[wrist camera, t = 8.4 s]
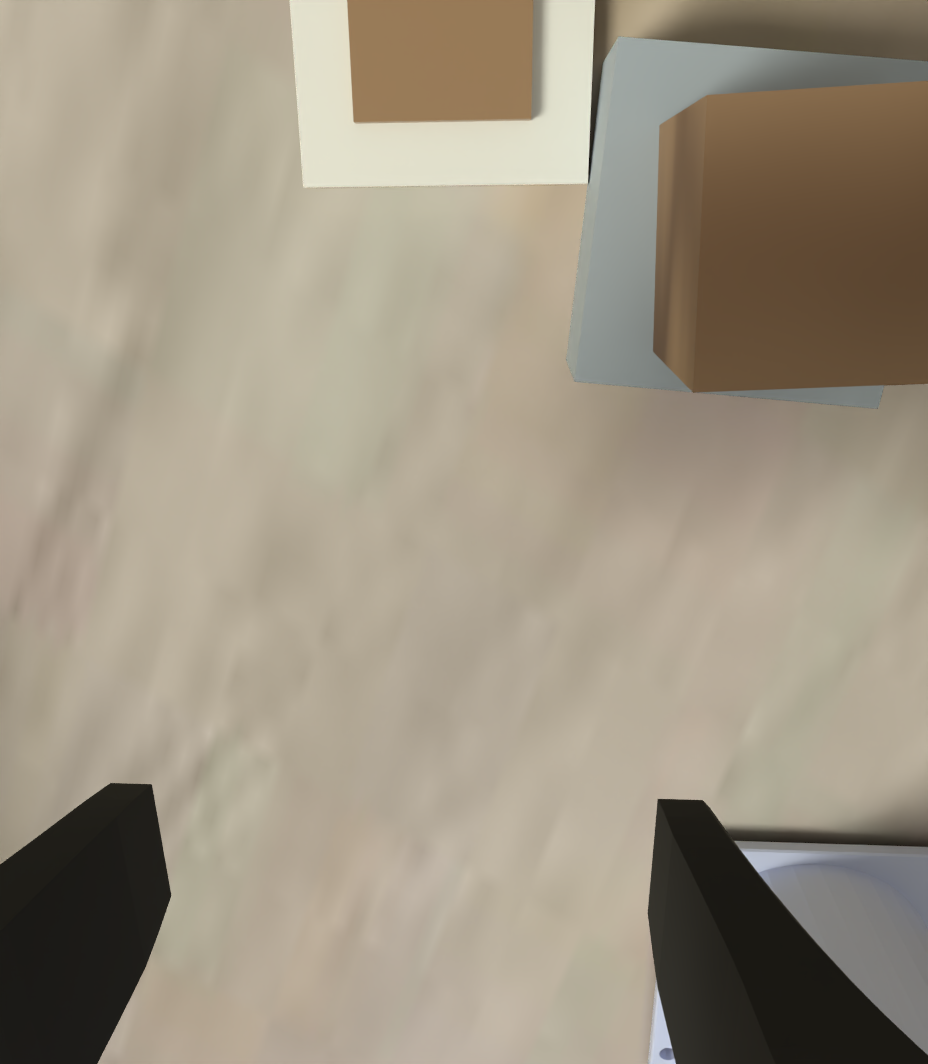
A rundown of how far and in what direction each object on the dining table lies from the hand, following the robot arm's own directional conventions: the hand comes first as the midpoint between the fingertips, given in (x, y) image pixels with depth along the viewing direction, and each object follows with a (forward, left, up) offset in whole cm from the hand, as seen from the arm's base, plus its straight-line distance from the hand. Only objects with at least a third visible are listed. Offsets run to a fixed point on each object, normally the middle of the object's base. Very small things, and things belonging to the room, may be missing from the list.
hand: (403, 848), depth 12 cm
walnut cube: (+8, -6, -7) cm, 12 cm away
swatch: (+12, 0, -10) cm, 16 cm away
